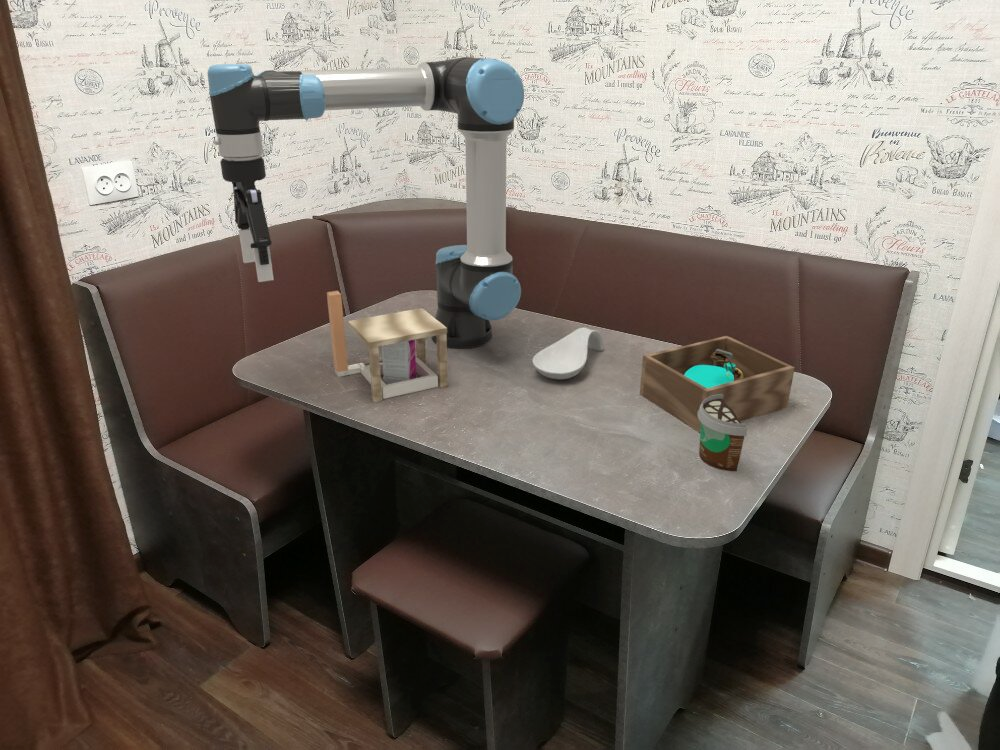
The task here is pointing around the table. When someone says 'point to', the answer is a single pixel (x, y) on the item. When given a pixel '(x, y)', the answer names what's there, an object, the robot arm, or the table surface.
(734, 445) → the food container
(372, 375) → the small wooden stool
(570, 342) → the spoon rest
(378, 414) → the table surface
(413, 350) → the supplement box
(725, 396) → the teapot crate
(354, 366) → the sled
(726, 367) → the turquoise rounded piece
